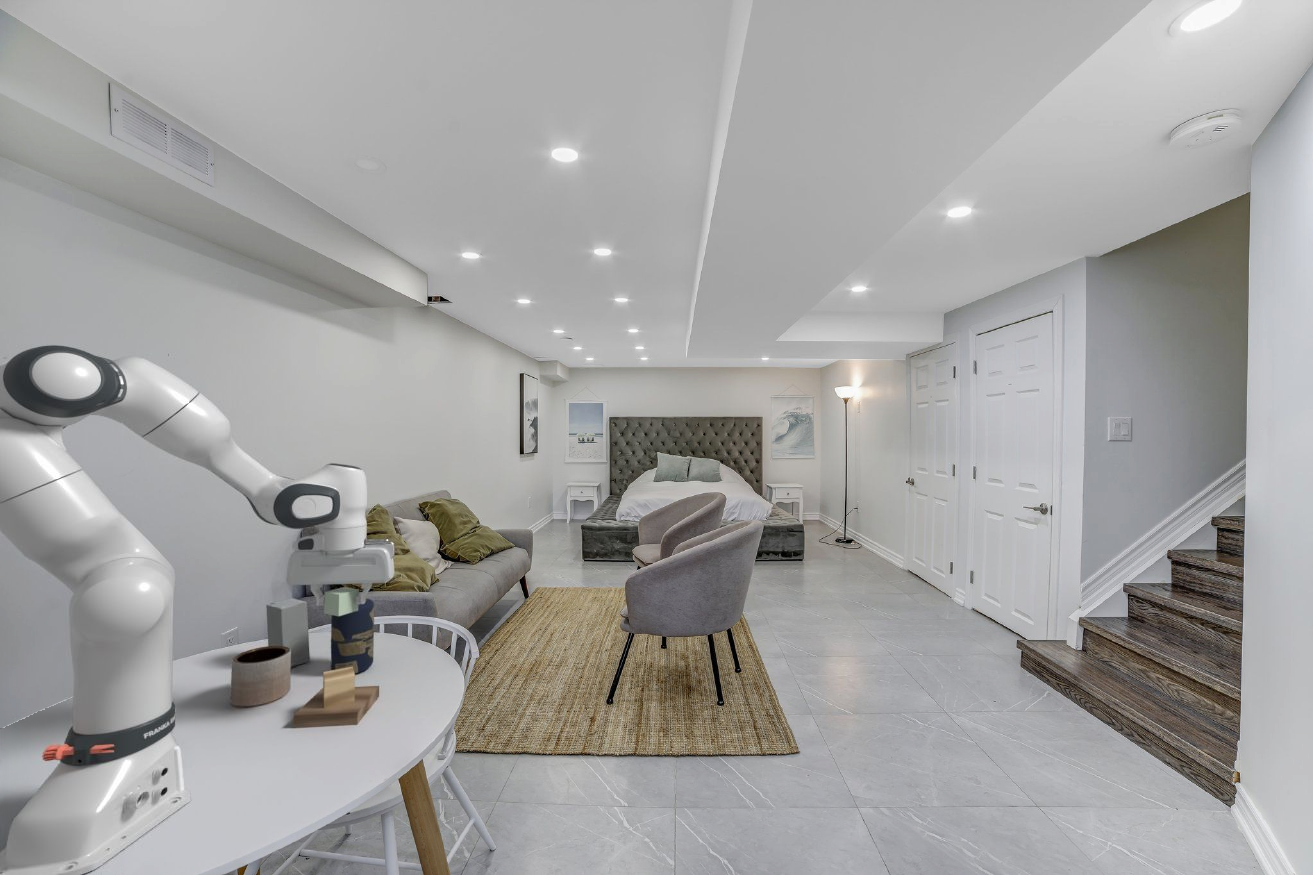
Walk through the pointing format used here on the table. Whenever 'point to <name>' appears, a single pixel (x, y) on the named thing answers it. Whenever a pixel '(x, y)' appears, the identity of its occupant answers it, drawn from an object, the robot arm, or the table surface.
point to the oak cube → (338, 687)
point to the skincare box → (289, 628)
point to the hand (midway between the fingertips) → (341, 604)
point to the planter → (260, 676)
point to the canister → (353, 638)
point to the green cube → (340, 601)
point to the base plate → (336, 709)
